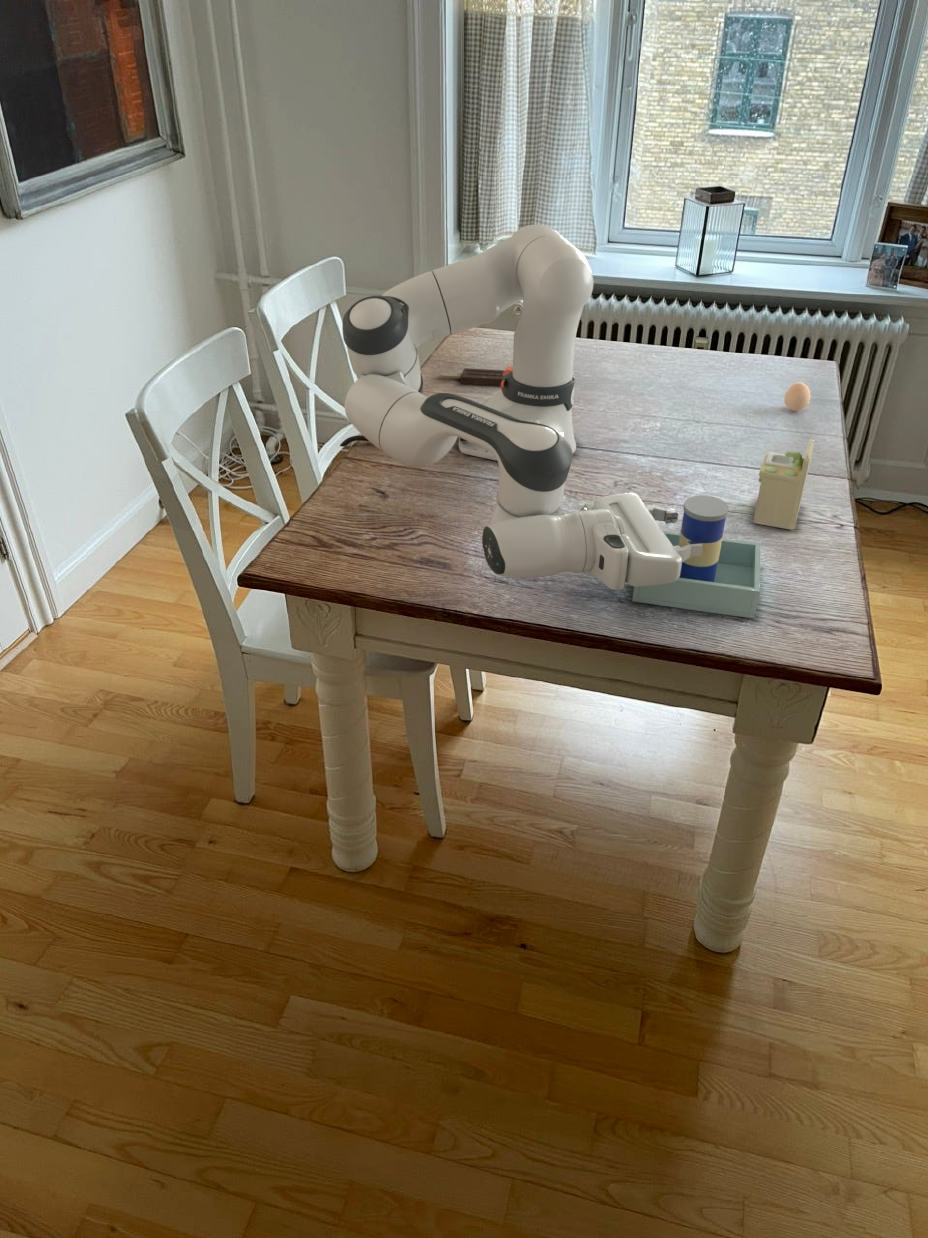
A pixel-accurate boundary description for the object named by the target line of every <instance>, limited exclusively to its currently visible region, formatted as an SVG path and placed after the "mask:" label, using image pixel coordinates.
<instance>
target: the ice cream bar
mask: <svg viewBox="0 0 928 1238" xmlns="http://www.w3.org/2000/svg"><path fill="white" fill-rule="evenodd" d="M504 371H505V369H489V368H488V369H487V368H485V369H484V368H471V367H470V368H467V367H465V368H464V369H463V370H462V373H460V372H459V373H457V372H440V378H445V379H447V378H448V379H460V384H461V385H472V386H473V385H474V386H491V387H501V383H502V377H503V372H504Z"/></svg>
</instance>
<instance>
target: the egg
mask: <svg viewBox="0 0 928 1238" xmlns="http://www.w3.org/2000/svg"><path fill="white" fill-rule="evenodd" d="M783 400H784V404H785V406H786V407H787V409H789V410H790V411H792V412H800V411H802V410H804V409H806V408H807V407H808V406H809V404H810V401H811V390H810V388H809V386H808V385H807V384H805V383H804V382H800V381H799V382H795V383H792V384H791V385H790V386H789V387H788V388H787V390H786V391H785V393H784V397H783Z"/></svg>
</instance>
